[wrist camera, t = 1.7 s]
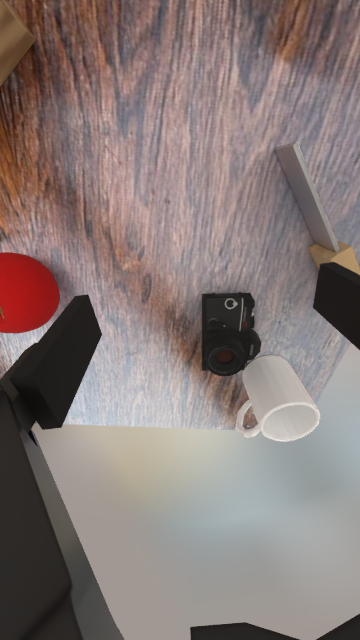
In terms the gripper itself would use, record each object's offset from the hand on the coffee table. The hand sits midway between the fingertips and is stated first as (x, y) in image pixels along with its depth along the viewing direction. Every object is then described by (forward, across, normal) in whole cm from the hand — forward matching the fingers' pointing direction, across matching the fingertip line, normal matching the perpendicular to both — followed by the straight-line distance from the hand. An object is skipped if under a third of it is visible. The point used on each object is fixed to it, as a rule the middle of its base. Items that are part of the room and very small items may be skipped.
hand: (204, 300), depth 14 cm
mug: (+18, +9, -25) cm, 32 cm away
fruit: (+18, -20, -3) cm, 28 cm away
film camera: (+18, +4, -14) cm, 23 cm away
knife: (+18, +15, -1) cm, 24 cm away
